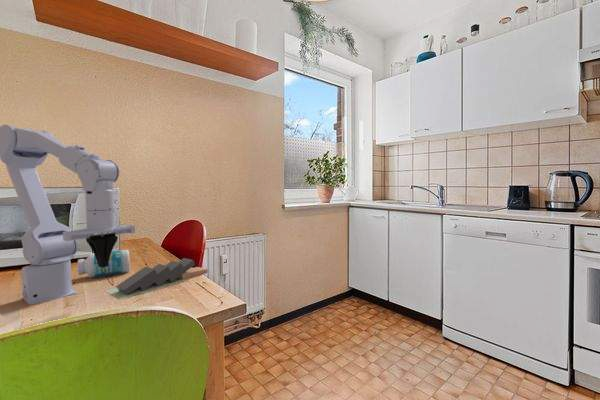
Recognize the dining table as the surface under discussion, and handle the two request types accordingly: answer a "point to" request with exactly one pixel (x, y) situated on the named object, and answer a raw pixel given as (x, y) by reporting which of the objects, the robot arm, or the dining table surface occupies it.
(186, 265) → the domino
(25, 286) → the robot arm
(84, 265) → the pill bottle
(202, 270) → the domino
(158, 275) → the domino
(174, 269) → the domino
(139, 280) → the domino
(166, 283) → the mat
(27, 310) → the dining table surface
